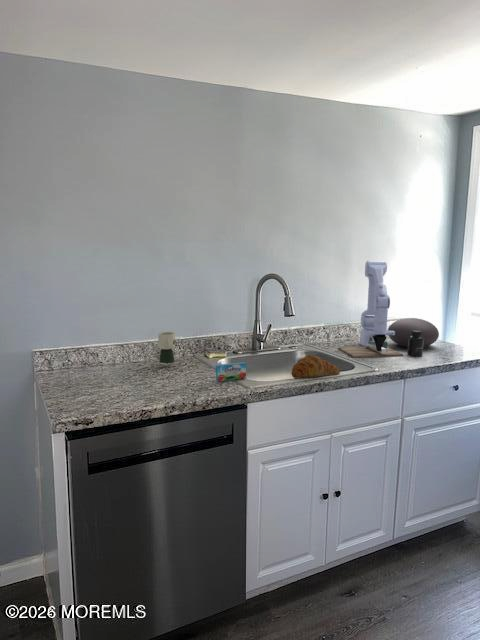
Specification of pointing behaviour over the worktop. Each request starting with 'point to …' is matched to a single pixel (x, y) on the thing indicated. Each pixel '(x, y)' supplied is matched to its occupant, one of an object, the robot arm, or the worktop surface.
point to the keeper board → (369, 351)
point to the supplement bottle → (415, 344)
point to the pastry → (313, 367)
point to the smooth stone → (405, 329)
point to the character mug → (166, 346)
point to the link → (373, 347)
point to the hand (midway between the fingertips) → (378, 350)
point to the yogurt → (230, 371)
